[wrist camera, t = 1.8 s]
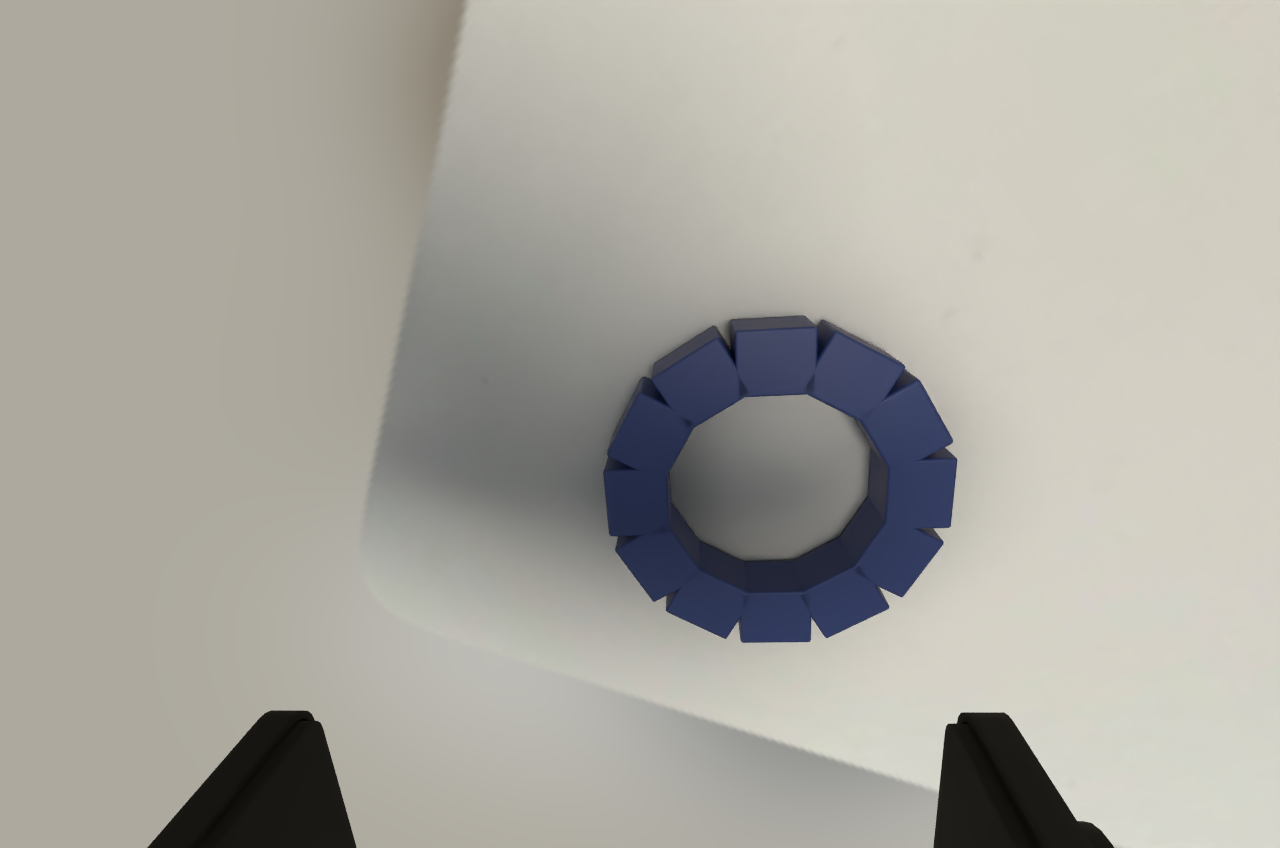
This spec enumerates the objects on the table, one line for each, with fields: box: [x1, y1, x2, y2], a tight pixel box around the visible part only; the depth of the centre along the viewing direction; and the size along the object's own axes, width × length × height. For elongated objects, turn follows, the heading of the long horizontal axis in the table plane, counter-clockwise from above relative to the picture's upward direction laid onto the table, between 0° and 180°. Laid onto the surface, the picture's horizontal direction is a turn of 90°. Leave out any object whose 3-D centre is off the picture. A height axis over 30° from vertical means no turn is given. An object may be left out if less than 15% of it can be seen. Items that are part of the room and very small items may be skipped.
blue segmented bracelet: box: [603, 316, 957, 643], centre depth 18 cm, size 10×10×2 cm
